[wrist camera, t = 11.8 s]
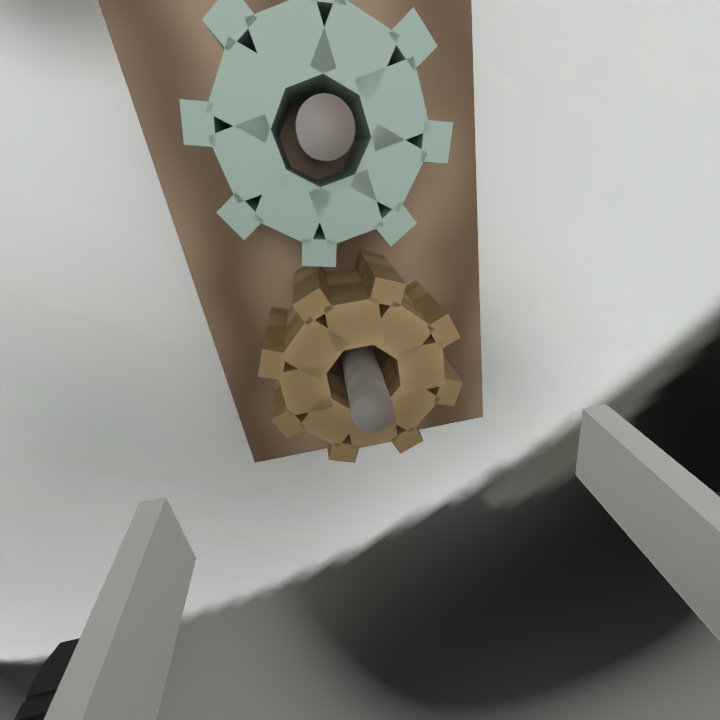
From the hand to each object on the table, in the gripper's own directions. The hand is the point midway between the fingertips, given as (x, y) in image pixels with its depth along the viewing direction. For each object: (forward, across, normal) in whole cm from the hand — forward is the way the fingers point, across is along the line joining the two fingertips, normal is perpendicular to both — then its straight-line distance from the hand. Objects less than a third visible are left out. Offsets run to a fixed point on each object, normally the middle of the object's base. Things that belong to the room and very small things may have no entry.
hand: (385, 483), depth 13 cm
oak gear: (+13, 0, 0) cm, 13 cm away
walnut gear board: (+15, 0, +4) cm, 16 cm away
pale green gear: (+14, 0, +10) cm, 17 cm away
